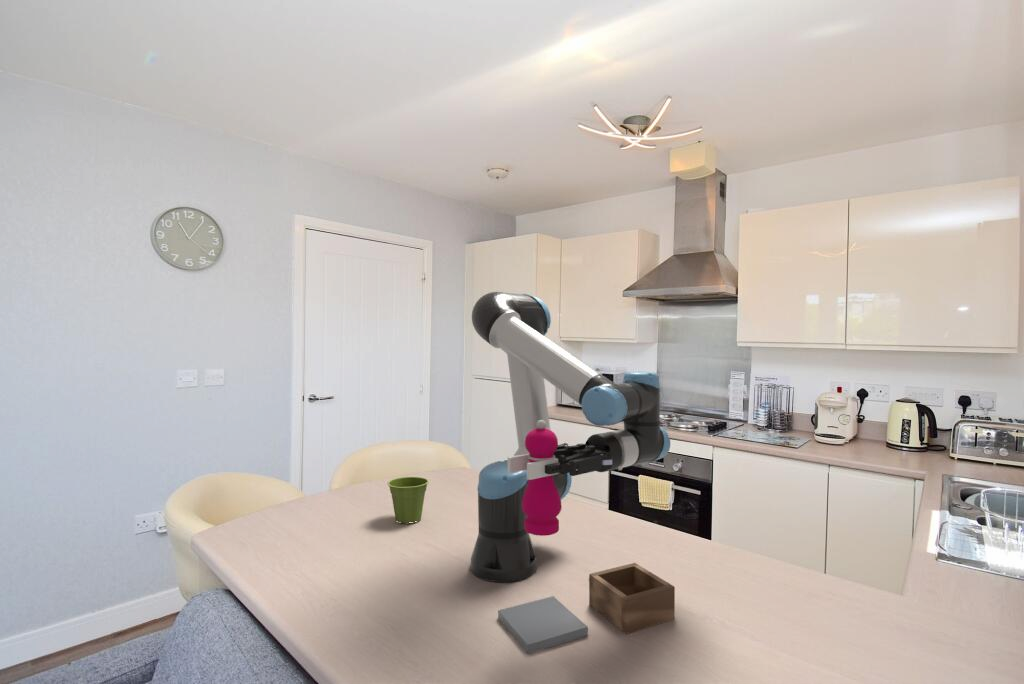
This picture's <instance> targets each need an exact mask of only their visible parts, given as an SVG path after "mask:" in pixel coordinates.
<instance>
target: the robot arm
mask: <svg viewBox="0 0 1024 684" xmlns="http://www.w3.org/2000/svg"><path fill="white" fill-rule="evenodd" d="M551 319H552V318H551V313H550V310H549V307H548V306H547V304H546V303H545V302H544V301H543V300H542V299H541V298H539V297H537V296H533V295H531V294H527V293H521V294H520V293H511V292H504V291H492V292H488V293H486V294H484V295H482V296H481V297H480V298H479V299H478V300H477V301H476V303H475V304H474V306H473V308H472V311H471V322H472V323H471V324H472V326H473V328H474V331H475V332H476V333H477V334H478V336H479V337H481V338H482V339H483V340H484V341H485V342H486V343H488V344H489V345H490V346H491V347H493V348H495V349H500V350H501V351H503V353H505V354H506V357H507V363H508V370H509V372H508V373H509V379H510V389H511V397H512V404H513V411H514V414H513V415H514V421H515V428H516V437H517V443H518V444H517V446H518V448H517V450H516V451H515V453H514V454H513V456H507V459H505V460H503V461H502V460H501V461H500V460H499V461H495V462H491V463H489V464H487V465H485V466H484V467H483V468H482V469H481V470H480V472H479V475H478V484H477V498H478V499H477V505H478V506H477V509H478V511H477V512H478V513H477V515H478V519H477V521H478V522H477V523H478V533H477V537H476V542H475V544H474V548H473V550H472V553H471V557H470V570H471V572H472V573H473V575H475V576H477V577H478V578H480V579H483V580H486V581H490V582H495V583H511V582H517V581H522V580H524V579H526V578H529V577H531V576H532V575H533V574H534V573H535V572H536V571H537V568H538V567H537V560H538V559H537V554H536V551H535V549H534V544H533V541H532V538H531V534H530V533H528V532H526V531H525V519H526V518H527V516H526V514H525V513H524V512H523V510H522V500H523V496H524V493H525V491H526V488H527V486H528V483H529V480H532V479H537V478H541V477H546V476H551V475H553V479H554V483H555V486H556V488H557V491H558V493H559V495H560V499H561V501H562V500H563V499H564V498H565V497H566V496H567V495H568V494H569V491H570V489H571V486H572V480H573V477H576V476H580V475H583V474H584V475H585V474H588V473H592V472H593V473H594V472H597V473H605V472H610V471H615V470H618V471H622V470H623V468H627V467H631V466H632V467H633V466H636V465H641V464H646V463H653V462H655V461H658V460H660V459H663V458H665V457H666V456H667V455H668V453H669V452H670V449H671V438H670V437H669V435H668V434H669V433H668V432H667V430H665V428H663V427H662V426H661V424H660V423H661V421H660V420H661V419H660V416H661V415H660V413H661V411H660V410H661V409H660V406H661V405H660V404H661V401H660V398H661V393H660V392H661V387H660V386H661V385H660V376H659V374H658V373H657V372H654V371H627V372H625V373H624V375H623V381H622V383H615V382H613V381H612V380H610V379H609V378H607V377H606V376H604V375H603V374H601V373H600V372H599V371H597V370H596V369H594V368H593V367H591V366H589V365H588V364H587V363H585V362H583V360H581V359H580V358H578V357H576V356H574V355H573V354H572V353H570V352H569V351H567V350H566V349H564V348H563V347H561V346H560V345H559V344H557V343H555V342H554V341H552V340H551V339H549V338H548V337H547V336H545V335H547V333H548V332H549V329H550V326H551V321H552V320H551ZM545 380H546V381H547V382H549V383H550V384H551V385H553V386H554V387H555V388H557V389H558V390H560V391H561V392H562V393H563V394H565V395H566V396H567V397H569V398H570V399H571V400H573V401H574V402H576V403H577V404H578V405H580V406H581V410H582V413H583V416H584V417H585V419H586V420H587V421H588V422H589V423H590V424H592V425H594V426H598V427H599V426H600V427H604V426H606V427H607V426H614V425H617V424H619V423H622V422H623V429H619V430H612V431H607V432H602V433H595V434H591V435H590V436H589V437H588V438H587V440H586V442H585V443H577V444H576V445H574V444H573V445H569V443H566V442H565V443H560V444H558V447H557V449H556V451H555V452H554V453H553V455H555V458H553V459H548V460H543V461H537V462H532V463H528V459H529V458H528V455H530V453H529V452H528V451H527V449H526V447H525V439H526V436H527V434H528V433H529V432H530V431H532V430H534V429H538V428H537V422H538V421H539V420H543V421H545V422H546V427H545V429H549V430H551V425H550V415H549V408H548V401H547V392H546V386H545V385H546V384H545Z"/></svg>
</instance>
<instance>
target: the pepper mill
mask: <svg viewBox="0 0 1024 684" xmlns="http://www.w3.org/2000/svg"><path fill="white" fill-rule="evenodd" d="M545 427H546V422H545V421H543V420H539V421H538V422H537V428H538V429H534V430H532V431H530V432H529V433H528V434H527V436H526V439H525V447H526V449H527V451H528V452H529V453H530V455H528V458H529V459H528V463H532V462H537V461H543V460H548V459H553V458H555V455H553V453H554V452H555V451H556V449H557V447H558V445H559V440H558V438H557V437H558V436H557V435H556V433H555V432H553V431H552V430H551V429H550V430H549V429H545ZM522 510H523V512H524V513H525V514H526V516H527V518H526V519H525V531H526V532H528V533H529V535H533V536H538V537H540V536H542V537H543V536H544V537H545V536H550V535H554V534H555V535H556V534H557V533H558V532H559V530H560V520H559V518H558V515H560V513H561V511H562V500H561V499H560V495H559V493H558V491H557V488H556V486H555V483H554V479H553V475H551V476H546V477H541V478H537V479H532V480H529V483H528V486H527V488H526V491H525V493H524V496H523V500H522Z"/></svg>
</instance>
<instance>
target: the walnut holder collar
mask: <svg viewBox="0 0 1024 684" xmlns="http://www.w3.org/2000/svg"><path fill="white" fill-rule="evenodd" d="M588 578H589V579H588V583H589V584H588V585H589V586H588V588H589V589H588V590H589V591H588V592H589V593H588V604H589V606H590V607H592V608H594V609H595V610H596V611H597V612H598V613H599V614H601V615H602V616H603V617H604V618H605V619H606V620H608V621H610V622H611V623H612V624H613V625H614V626H615V627H617V628H618V629H619V630H620V631H622V632H623V633H624V634H626V635H627V634H631V633H634V632H637V631H639V630H643V629H646V628H651V627H654V626H656V625H659V624H662V623H665V622H668V621H671V620H674V619H675V612H676V611H675V608H676V607H675V604H676V603H675V602H676V601H675V600H676V599H675V598H676V597H675V591H676V589H675V586H674V585H673V584H671V583H669V582H668V581H666V580H665V579H662V578H661V577H659V576H658V575H656V574H654V573H652V572H651V571H649V569H646V568H644V567H643V566H641V565H639V564H638V563H636V562H633V563H628V564H623V565H621V566H620V565H619V566H616V567H613V568H608V569H604V570H600V571H596V572H591V573H589V576H588Z"/></svg>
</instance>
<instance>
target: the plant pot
mask: <svg viewBox="0 0 1024 684" xmlns="http://www.w3.org/2000/svg"><path fill="white" fill-rule="evenodd" d="M429 483H430V480H429V479H428V478H425V477H421V476H404V477H396V478H393V479H390V480H389V481H388V482H387V483H386V484H387V486H388V487H389V491H390V494H391V499H392V506H393V511H394V519H395V522H396V521H398V522H402V523H401V524H406V523H409V522H415V521H418V520H419V521H420V520H421V519H422V517H423V515H422V514H423V508H424V502H425V497H426V496H425V495H426V491H427V487H428V484H429ZM419 521H418V522H419ZM398 522H397V523H398Z"/></svg>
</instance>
